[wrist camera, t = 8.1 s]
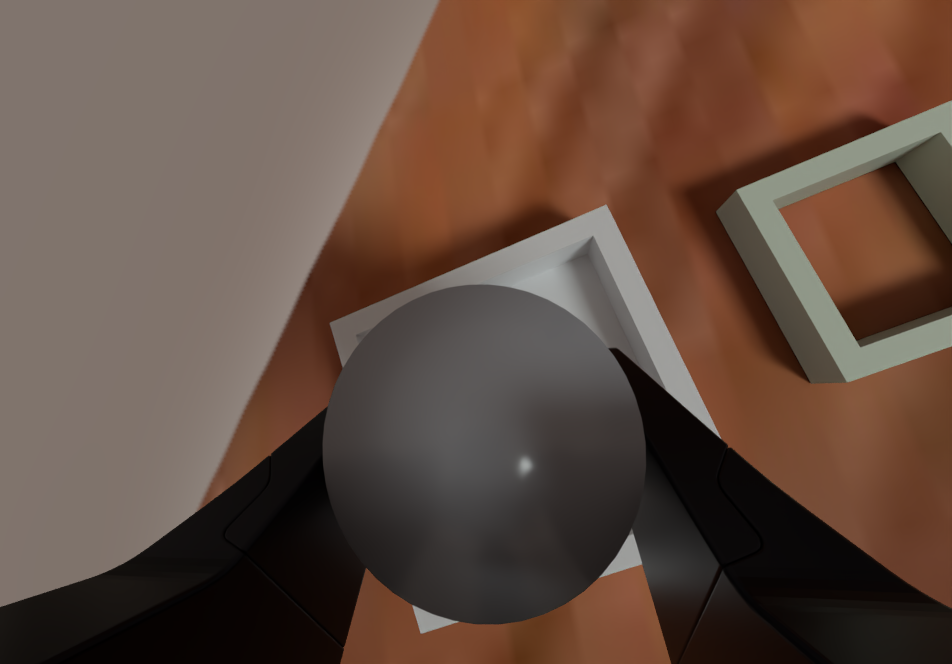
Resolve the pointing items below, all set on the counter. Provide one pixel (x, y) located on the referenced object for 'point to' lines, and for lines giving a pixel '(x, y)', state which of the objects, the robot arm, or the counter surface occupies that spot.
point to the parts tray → (579, 292)
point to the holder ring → (793, 278)
